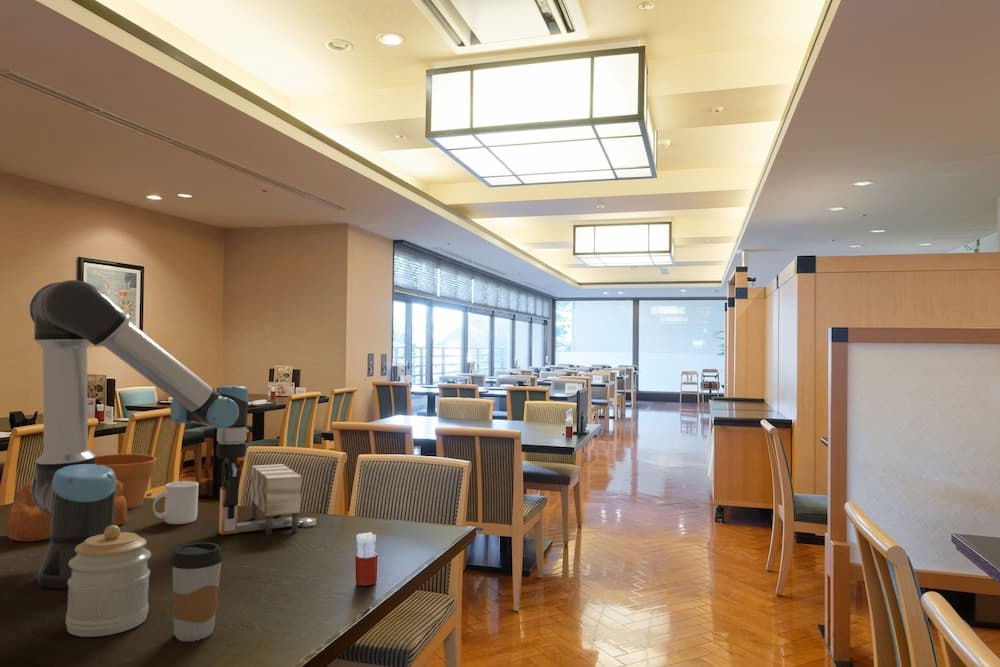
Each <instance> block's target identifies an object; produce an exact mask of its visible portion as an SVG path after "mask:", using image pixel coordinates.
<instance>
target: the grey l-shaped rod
mask: <svg viewBox="0 0 1000 667" xmlns="http://www.w3.org/2000/svg"><path fill="white" fill-rule="evenodd" d="M219 488H220V489H219V516H218V517H219V518H218V519H219V521H218V532H219V534H220V535H231V534H238V533H245V532H255V531H262V530H264V531H265V530H266V519H263V520H262V519H261V520H253V521H242V522H238V513H239V512H238V511H239V509H238V508H239V504H238V505H236V523H235V530H230V531H224V520H225V507H223V505H226V487H222V486H221V487H219ZM300 519H301V518H299V517H298V525H300ZM287 527H288V528H289V527H292V516H290V517H281V518H280V517H279V518H272V529H277V528H278V529H280V528H287Z"/></svg>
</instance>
